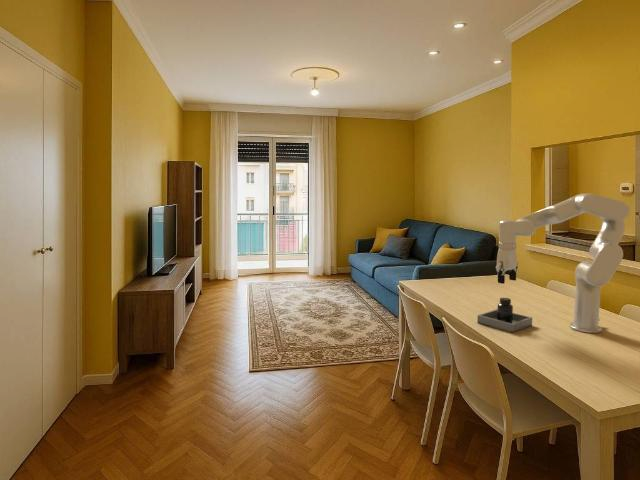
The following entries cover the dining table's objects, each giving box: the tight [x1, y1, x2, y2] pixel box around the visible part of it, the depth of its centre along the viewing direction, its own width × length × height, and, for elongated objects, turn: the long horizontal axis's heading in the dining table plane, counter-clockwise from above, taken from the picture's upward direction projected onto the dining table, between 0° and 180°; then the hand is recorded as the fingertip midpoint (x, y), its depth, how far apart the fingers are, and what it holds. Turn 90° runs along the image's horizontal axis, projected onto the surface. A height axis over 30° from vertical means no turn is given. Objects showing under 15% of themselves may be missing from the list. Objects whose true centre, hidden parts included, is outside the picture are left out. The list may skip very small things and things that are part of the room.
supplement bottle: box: [496, 297, 514, 324], centre depth 195 cm, size 7×7×12 cm
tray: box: [476, 308, 533, 334], centre depth 195 cm, size 17×18×4 cm
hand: (507, 281), depth 193 cm, fingers open, 9 cm apart
